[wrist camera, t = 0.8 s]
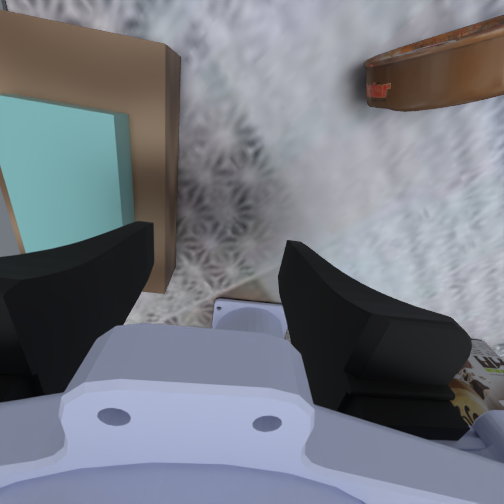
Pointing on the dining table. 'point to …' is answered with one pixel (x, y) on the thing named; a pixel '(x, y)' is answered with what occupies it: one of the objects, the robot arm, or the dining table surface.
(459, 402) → the coffee box
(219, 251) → the dining table surface
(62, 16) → the dining table surface
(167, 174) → the brown wooden block
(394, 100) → the tin
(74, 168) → the teal block
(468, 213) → the dining table surface
